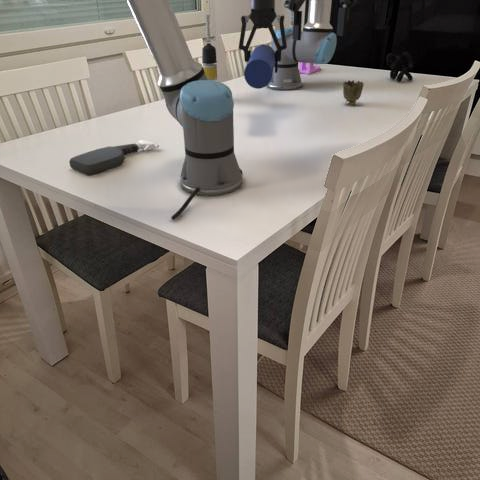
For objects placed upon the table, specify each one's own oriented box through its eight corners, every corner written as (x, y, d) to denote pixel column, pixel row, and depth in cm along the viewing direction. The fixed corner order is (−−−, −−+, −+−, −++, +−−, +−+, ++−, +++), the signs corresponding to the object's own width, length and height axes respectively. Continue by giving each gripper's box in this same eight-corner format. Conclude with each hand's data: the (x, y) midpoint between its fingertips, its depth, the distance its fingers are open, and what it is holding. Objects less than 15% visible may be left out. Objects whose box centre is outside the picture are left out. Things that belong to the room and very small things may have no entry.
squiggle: (400, 92, 202) (376, 71, 205) (417, 76, 202) (392, 56, 205) (405, 81, 191) (380, 59, 194) (423, 64, 191) (397, 42, 194)
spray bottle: (67, 168, 120) (139, 144, 136) (91, 178, 114) (163, 151, 130) (65, 157, 118) (137, 134, 134) (89, 167, 112) (162, 142, 128)
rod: (271, 88, 133) (272, 59, 128) (244, 88, 134) (243, 59, 129) (275, 70, 153) (276, 44, 148) (251, 70, 154) (251, 44, 149)
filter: (220, 99, 177) (217, 15, 161) (206, 100, 176) (202, 16, 160) (215, 96, 182) (212, 14, 166) (202, 97, 180) (197, 14, 164)
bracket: (309, 74, 214) (310, 58, 210) (299, 72, 217) (300, 57, 213) (322, 69, 223) (323, 54, 219) (312, 68, 225) (313, 53, 222)
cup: (338, 105, 167) (340, 83, 162) (344, 100, 172) (346, 79, 168) (358, 107, 164) (360, 85, 159) (363, 103, 169) (366, 81, 165)
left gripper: (359, -61, 111) (349, 32, 123) (271, -61, 102) (269, 39, 114) (379, -63, 106) (367, 35, 117) (288, -63, 97) (284, 43, 108)
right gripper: (297, -7, 139) (294, 69, 152) (230, -6, 142) (233, 69, 154) (297, -5, 133) (294, 74, 145) (227, -4, 135) (230, 74, 148)
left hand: (319, 37), depth 115 cm, fingers open, 13 cm apart
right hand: (262, 71), depth 150 cm, fingers closed on rod, 8 cm apart
